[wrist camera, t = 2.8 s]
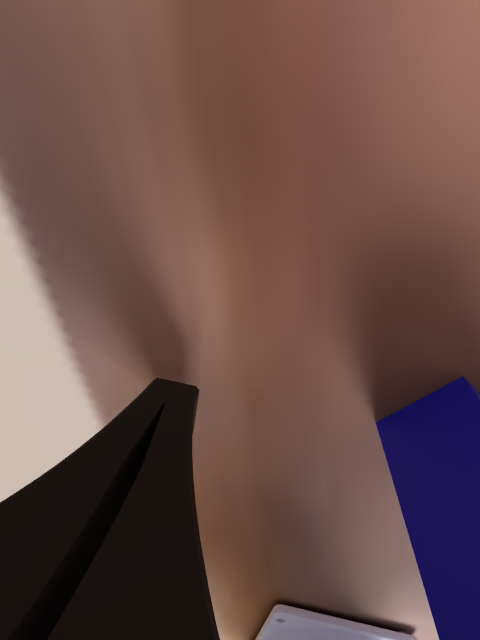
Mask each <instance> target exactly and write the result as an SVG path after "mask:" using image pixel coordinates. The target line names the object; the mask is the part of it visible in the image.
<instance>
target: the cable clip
mask: <svg viewBox="0 0 480 640" xmlns="http://www.w3.org/2000/svg"><path fill="white" fill-rule="evenodd" d="M376 425H377V428H378V431H379V435H380V438H381V442H382V445H383V449H384V452H385V455H386V459H387V462H388V466H389V469H390V472H391V476H392V479H393V483H394V486H395V489H396V493H397V496H398V500H399V503H400V506H401V510H402V513H403V517H404V520H405V524H406V527H407V530H408V534H409V537H410V541H411V544H412V547H413V551H414V554H415V558H416V561H417V564H418V568H419V571H420V575H421V578H422V581H423V585H424V588H425V592H426V595H427V599H428V602H429V605H430V609H431V612H432V616H433V619H434V622H435V626H436V629H437V633H438V636H439V639H440V640H480V393H479V392H478V391H477V390H476V389H475V388H474V387H473V386H472V385H471V384H470V383H469V382H468V381H467V380H466V379H465V377H464V376H463V377H461V378H459V379H458V380H456V381H454V382H452V383H450V384H448V385H446V386H444V387H442V388H441V389H439V390H437V391H435V392H433V393H431V394H429V395H427V396H426V397H424V398H422V399H420V400H418V401H416V402H414V403H412V404H411V405H409V406H407V407H405V408H403V409H401V410H399V411H397V412H395V413H394V414H392V415H390V416H388V417H386V418H384V419H382V420H380V421H379V422H377V423H376Z"/></svg>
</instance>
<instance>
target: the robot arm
mask: <svg viewBox="0 0 480 640" xmlns="http://www.w3.org/2000/svg"><path fill="white" fill-rule="evenodd" d="M198 396H199V389H198V388H197V387H196V386H192V385H188V384H183V383H179V382H175V381H170V380H166V379H161V378H156V379H154V380H153V381H152V382H151V383H150V384H149V385H148V386H147V387H146V389H145V390H144V391H143V392H142V393H141V394H140V395H139V396H138V397H137V398H136V399H135V400H133V401H132V402H131V403H130V404H129V405H128V406H127V407H126V408H125V409H124V410H123V411H122V412H121V413H120V414H118V415H117V416H116V417H115V418H114V419H113V420H112V421H111V422H110V423H108V424H107V425H106V426H105V427H104V428H103V429H102V430H100V431H99V432H98V433H97V434H95V435H94V436H93V437H92V438H90V439H89V440H88V441H87V442H86V443H84V444H83V445H82V446H81V447H80V448H78V449H77V450H76V451H74V452H73V453H72V454H70V455H69V456H68V457H66V458H65V459H64V460H62V461H61V462H60V463H58V464H57V465H56V466H54V467H53V468H52V469H50V470H49V471H47V472H46V473H44V474H43V475H42V476H40V477H39V478H37V479H36V480H34V481H33V482H31V483H30V484H28V485H27V486H25V487H24V488H22V489H20V490H19V491H18V492H16V493H14V494H13V495H11V496H10V497H8V498H7V499H5V500H4V501H2V502H0V640H220V638H219V634H218V630H217V625H216V621H215V616H214V611H213V606H212V602H211V597H210V592H209V587H208V581H207V576H206V570H205V565H204V559H203V553H202V548H201V542H200V535H199V527H198V520H197V512H196V503H195V493H194V481H193V464H192V434H193V430H194V423H195V416H196V409H197V403H198ZM255 640H418V639H417V638H416V637H415V636H412V635H409V634H404V633H400V632H396V631H392V630H388V629H383V628H379V627H375V626H371V625H367V624H362V623H358V622H354V621H350V620H346V619H342V618H337V617H333V616H329V615H325V614H321V613H316V612H312V611H308V610H304V609H300V608H295V607H291V606H287V605H282V604H279V605H276V606H274V608H273V609H272V611H271V613H270V615H269V616H268V618H267V620H266V622H265V623H264V625H263V627H262V629H261V630H260V632H259V634H258V636H257V638H256V639H255Z"/></svg>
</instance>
